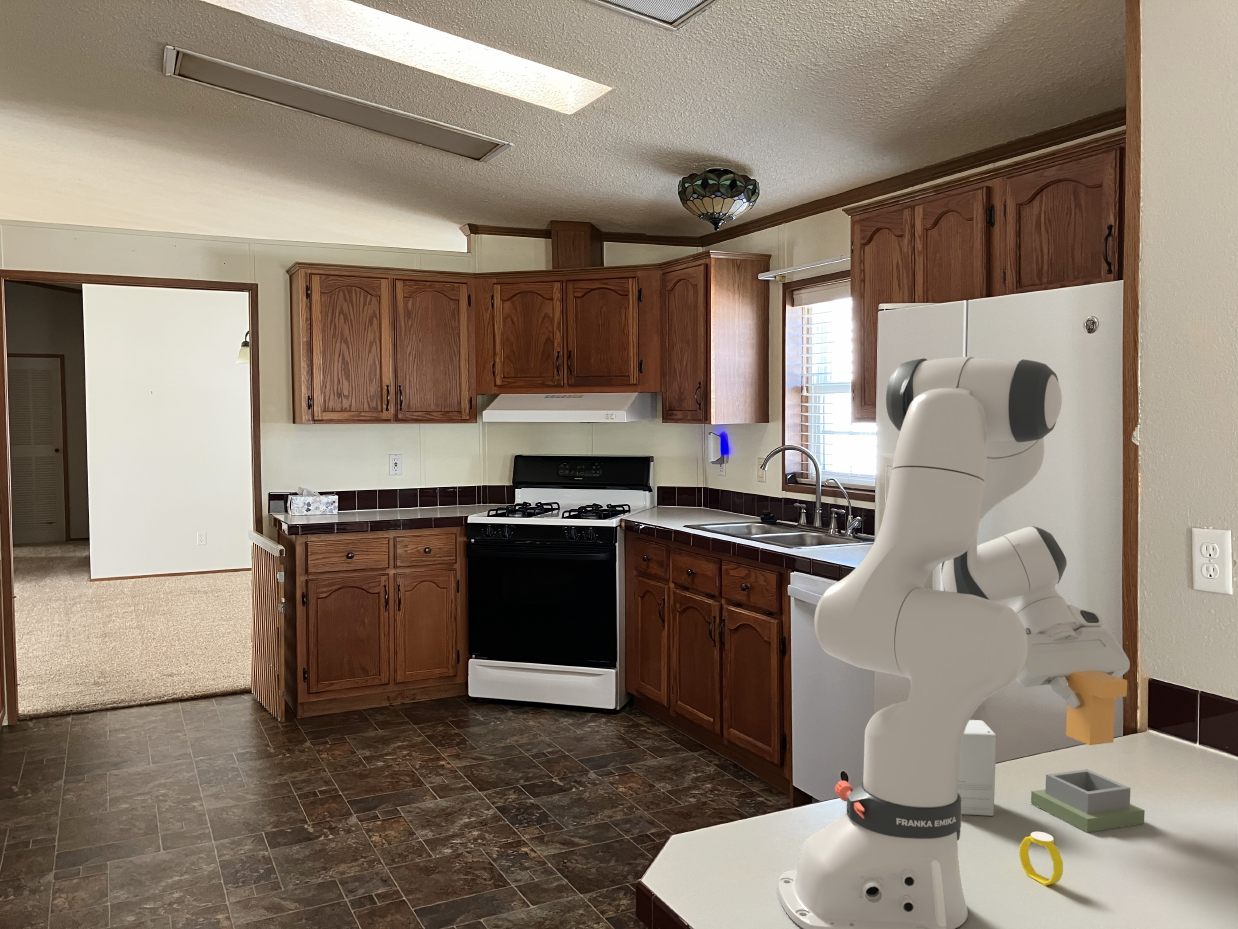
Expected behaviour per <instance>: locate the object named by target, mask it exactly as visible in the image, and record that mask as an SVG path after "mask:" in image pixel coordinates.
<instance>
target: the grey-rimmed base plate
mask: <svg viewBox="0 0 1238 929" xmlns="http://www.w3.org/2000/svg"><path fill="white" fill-rule="evenodd" d="M1131 789H1132V788H1131V787H1129V786H1127V785H1124V784H1123V783H1120V782H1118V781H1115V780H1113V779H1110V778H1108V777H1106V776H1104V775H1101V774H1099V773H1096V772H1094V771H1092V770H1090V769H1088V768H1086V769H1078V770H1070V771H1064V772H1063V771H1062V772H1056V773H1048V774H1045V789H1038V790H1037V789H1036V790H1032V791H1031V793H1030V804H1031V803H1032V804H1033V806H1034V805H1035V806H1034V807H1036V806H1038V807H1040V808H1041V809H1040V808H1039V809H1040V810H1042V809H1043V811H1044V810H1045V811H1044V812H1046V811H1047V812H1046V813H1048V814H1051V815H1052V814H1053V815H1052V816H1054V817H1056V818H1058V819H1059V818H1060V819H1059V820H1061V819H1062V821H1063V820H1064V822H1065V823H1068V824H1070V825H1071V826H1073V827H1075V828H1077V829H1079V830H1081V831H1083V832H1084V833H1092V832H1093V831H1094V832H1098V831H1099V830H1100V831H1105V830H1112V829H1118V828H1117V827H1119V828H1123V827H1122V826H1125V827H1131V826H1136V825H1142V824H1145V811H1146V810H1145V809H1143V808H1141V807H1139V806H1136V805H1134V804H1132V803H1131ZM1032 804H1031V805H1032ZM1038 807H1037V808H1038ZM1111 828H1112V829H1111Z"/></svg>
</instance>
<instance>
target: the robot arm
mask: <svg viewBox="0 0 1238 929" xmlns="http://www.w3.org/2000/svg"><path fill="white" fill-rule="evenodd" d="M885 402H886V403H885V405H886V406H885V407H886V412H887V415H888V418H889V421H890V422H891V423H892V424H893V426H894V427H895V428H896V429H897V430H898V431H899V435H898V438H897V442H896V447H895V450H894V455H893V459H892V460H893V461H892V467H891V472H890V479H889V486H888V492H887V497H886V503H885V506H884V512H883V516H882V519H881V520H882V521H881V523H880V528H879V530H878V533H877V536H876V538H875V539H874V542H873V544H872V545H871V547H870V549H869V551H868V552H867V554H866V555H865V557H864V558H863V559H862V561H861V562H860V563H859V564H858V565H857V566H856V567H855V568H854V569H853V570H852V571H851V572H850V573H849V574H847V575H846V576H845V577H843V578H842V579H840V580H839V581H837V582H836V583H833V584H831V585H830V586H829V587H828V588H827V589H826V590H825V592H824V593H823V594H822V595H821V596H820V598H819V601H818V602H817V605H816V608H815V611H814V620H813V621H814V622H813V623H814V631H815V636H816V638H817V641H818V644H819V645H820V647H821V649H822V650H823V651H824V652H825V653H826V654H827V655H829V656H831V657H834V658H836V659H838V660H840V661H842V662H844V663H846V664H848V665H852V666H854V667H856V668H860V669H865V670H869V671H874V672H879V673H883V674H889V675H894V676H898V677H902V678H903V677H904V678H907V679H909V681H910V682H909V683H910V687H909V694H908V697H907V699H906V700H904V701H901V702H896V703H893V704H891V705H889V706H886V707H884V708H883V707H882V708H881V709H879V710H878V711H877V712H875V713H874V714H873V715H872V716H871V718H870V719H869V721H868V722H867V725H866V726H865V729H864V745H863V746H864V747H863V748H864V749H863V779H862V780H861V782H860V783H859V785H858V786H856V787H855V788H853V787H852V785H851V784H850V783H849V782H848V781H846V780H840V781H838V782H837V784H835V787H834V790H835V791H834V792H835V793H836V794H837V796H838V797H839V799H840V800H841V801H843V802H846V812H845V813H844V814H842V815H841V816H840V817H837V818H836V819H835V820H834V821H832V822H831V823H829V824H827V825H826V826H824V827H823V828H821V829H820V830H818V831H817V832H815V833H814V834H812V835H810V836H809V837H808V838H806V840H805V841H804V843H803V844H802V845H801V849H800V852H799V856H798V861H797V865H796V866H797V867H796V869H794V870H793V869H792V870H785V871H784V872H783V873H781V875H780V876H779V879H778V885H777V895H778V898H779V900H780V904H781V905H782V907H783V909H784V911H785V913H787V915H788V916H789V918H790V919H791V920H792V921H793V922H794V923H795V924H797V926H799V927H800V928H802V929H956V928H959V927H960V926H962V925H963V924H964V923H965V922H966V920H967V919H968V916H969V911H968V907H967V904H966V899H965V895H964V891H963V884H962V878H961V871H960V861H959V850H958V849H959V847H958V846H959V845H958V842H959V840H960V838H961V827H962V816H963V814H961V797H960V794H959V793H958V776H959V763H960V754H961V746H962V740H963V735H964V732H965V729H966V726H967V724H968V722H969V720H971V718H972V716H973V715H974V713H975V712H976V711H977V709H978V708H979V706H981V705H982V704H983V702H985V701H986V700H988V698H990V697H991V696H993V695H994V694H996V693H998V692H1000V691H1002V690H1004V689H1005V688H1007V687H1009V686H1010V685H1011V684H1012V683H1013V682H1014V681H1015V680H1016V681H1017V683H1019V685H1020V686H1022V687H1024V688H1032V687H1042V686H1050V687H1051V689H1052V691H1053V692H1055V693H1056V694H1057V695H1059V697H1061V698H1062V699H1064V700H1065V701H1066V704H1067V703H1068V705H1069V707H1070V708H1071V709H1077V708H1081V706H1083V705H1084V704H1085V702H1084V700H1083V699H1082V696H1081V695H1080V693H1075V692H1074V691H1073V690H1072V689H1071V688H1070V687H1069V686H1068V676H1069V675H1072V672H1082V671H1093V670H1096V671H1099V672H1102V673H1106V674H1109V675H1112V676H1115V677H1118V678H1121V677H1122V676H1123V675H1125V674H1126V673H1127V672H1128V671H1129V670H1130V668H1131V667H1130V666H1131V665H1130V664H1131V662H1130V659H1129V657H1128V656H1127V654H1126V652H1125V651H1124V649H1123V647H1122V645H1120V643H1119V642H1118V641H1117V639H1116V637H1115V636H1114V635H1113V633H1112V632H1110V630H1108V629H1106V628H1105V627H1102V626H1103V625H1104V624H1105V621H1104V618H1103V617H1102V616H1101V615H1100V614H1099V613H1097V612H1094V611H1089V610H1086V609H1082V608H1080V607H1077V606H1074V605H1072V604H1067V601H1066V600H1065V599H1064V597H1062V595H1061V594H1060V593H1059V592H1058V591H1057V589H1056V585H1057V584H1059V583H1060V581H1061V580H1062V578H1063V575H1064V572H1065V571H1066V568H1067V564H1068V563H1067V562H1068V561H1067V557H1066V556H1065V554H1064V551H1063V550H1062V548H1061V546H1060V545H1059V543H1058V542H1057V540H1056V539H1055V537H1054V535H1053V534H1052V533H1051V532H1048V530H1045V529H1043V528H1041V527H1038V526H1034V525H1031V526H1026V527H1023V528H1020V529H1017V530H1015V531H1011V532H1009V533H1006V534H1004V535H1001V536H998V537H997V538H994V539H992V540H988V541H985V542H983V543H981V544H978V534H979V527H980V523H981V521H982V519H983V518H984V517H985V516H986V515H987V514H988V513H989V512H990V511H991V510H993V509H994V508H995V507H996V506H997V505H999V504H1000V503H1001V502H1002V503H1003V501H1004V500H1006V499H1008V498H1009V497H1011V496H1013V495H1014V494H1015V493H1017V492H1019V491H1020V490H1022V489H1023V488H1024V487H1026V486H1027V485H1029V483H1030V482H1032V480H1034V478H1035V477H1036V476H1037V475H1038V472H1039V471H1040V470H1041V468H1042V465H1043V461H1044V457H1045V439H1044V438H1045V437H1046V436H1047V435H1048V434H1049V433H1051V432H1052V431H1053V430H1054V428H1055V426H1056V425H1057V424H1056V423H1057V420H1058V418H1059V415H1060V412H1061V409H1062V403H1063V398H1062V390H1061V386H1060V384H1059V378H1058V375H1057V374H1056V372H1055V371H1054V370H1053V369H1052V368H1051V367H1049V366H1048V365H1047V364H1046V363H1043V362H1039V361H1036V360H1030V359H1029V360H1028V359H1020V361H1019V360H1018V361H1017V360H1011V359H1010V360H1009V359H999V358H988V357H987V358H984V357H982V358H981V357H980V358H979V357H974V356H956V357H954V356H953V357H944V358H935V359H929V360H928V359H927V358H925V357H924V358H918V359H917V358H916V359H911V360H909V361H906V362H902V363H900V365H899V366H898V367H897V368H896V369H895V370H894V371H893V372H892V373H891V375H890V377H889V380H888V383H887V386H886V395H885ZM940 564H941V572H940V573H941V581H942V586H943V588H944V590H940V589H932V588H925V585H926V584H927V581H928V578H929V576H930V575H931V573H932V572H933V571H934V570H935V568H937V567H938V566H940Z"/></svg>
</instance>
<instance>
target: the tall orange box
mask: <svg viewBox="0 0 1238 929" xmlns="http://www.w3.org/2000/svg"><path fill="white" fill-rule="evenodd" d="M1067 686H1069V687H1070V688H1071V689H1072V690H1073V691H1074V692H1075V693H1080V695H1081V696H1082V699H1083V700H1084V702H1085V704H1084V705H1083V706H1081V708H1077V709H1071V708H1070V707H1069V705H1068V703H1067V702H1066V705H1067V706H1066V724H1065V727H1066V728H1065V736H1066V737H1068V738H1070V739H1074V740H1075V741H1078V742H1081V743H1083V744H1086V745H1088V746H1094V745H1103V744H1110V743H1112V744H1113V743H1114V739H1115V738H1114V737H1115V735H1114V734H1115V715H1116V713H1115V712H1116V698H1122V697H1123V698H1125V697H1127V695H1128V680H1127V679H1124V678H1121V677H1119V678H1118V677H1115V676H1112V675H1109V674H1106V673H1102V672H1099V671H1096V670H1093V671H1082V672H1072V675H1069V676H1068V683H1067Z"/></svg>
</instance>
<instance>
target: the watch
mask: <svg viewBox="0 0 1238 929" xmlns="http://www.w3.org/2000/svg"><path fill="white" fill-rule="evenodd" d="M1054 840H1055V839H1054V836H1052V835H1051V834H1049V833H1048V832H1044V831H1043V832H1042V831H1032V832H1031V833H1030V835H1029V836H1025V837H1024V838H1023V840H1022V841H1021V843H1020V845H1019V852H1018V853H1019V859H1020V864H1021V866H1022V867H1021V868H1022V869H1023V871H1024V872H1025V874H1026V875H1027V877H1029V878H1031V879H1033V880H1035V881H1036V882H1038V883H1039V884H1042V886H1045V887H1046V886H1051V885H1054V884H1056V883H1059V881H1060V880H1061V879H1062V876H1063V875H1064V874H1063V872H1064V862H1063V858H1062V856H1061V853H1060V850H1059V849H1058V847H1057V846H1056V845H1055V844H1054ZM1031 843H1034V844H1036V845H1039V846H1042V847H1045V848H1046V850H1047V851H1048V853H1049V855H1050V858H1051V860H1052V864H1053V865H1052V866H1053V868H1052V869H1053V871H1052V872H1053V873H1052V875H1051V878H1050V879H1048V878H1046V877H1044V876H1043V875H1041V874H1039V873H1037V872H1036V870H1035V869H1034V867H1033V865H1032V864H1031V860H1030V855H1029V853H1030V852H1029V850H1030V844H1031Z"/></svg>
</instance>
